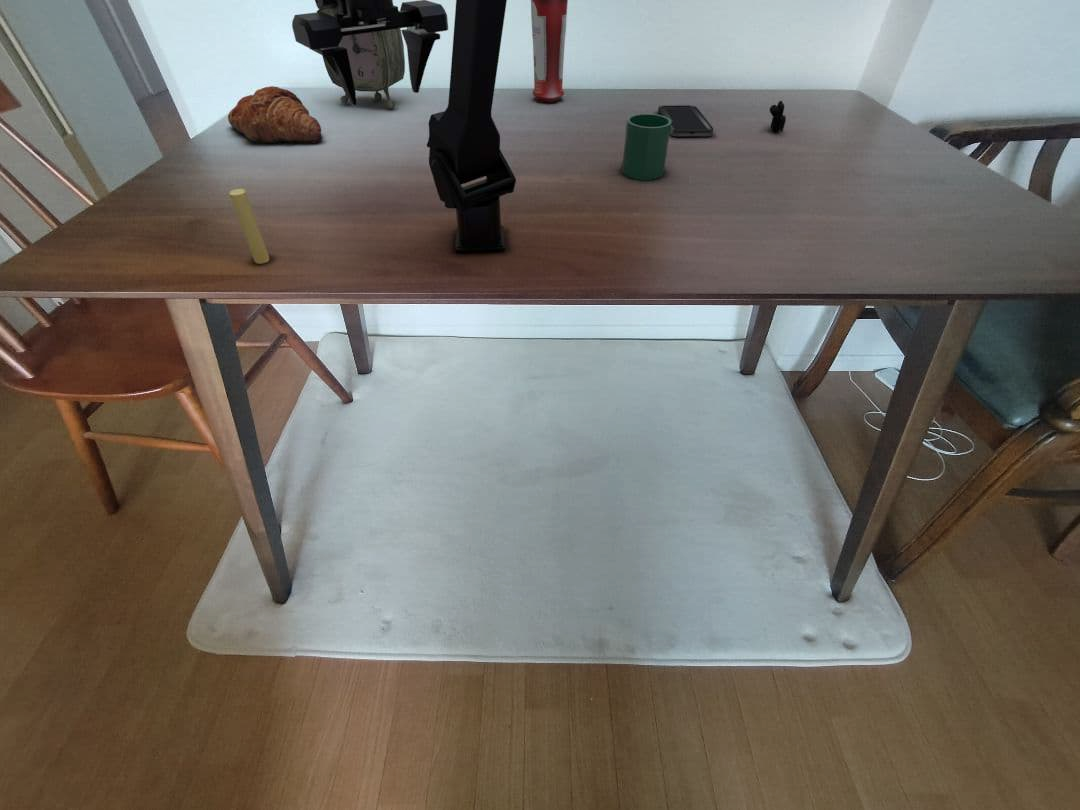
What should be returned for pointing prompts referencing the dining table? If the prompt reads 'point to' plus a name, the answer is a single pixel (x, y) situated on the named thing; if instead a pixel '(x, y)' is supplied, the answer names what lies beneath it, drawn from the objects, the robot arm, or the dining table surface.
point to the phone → (686, 121)
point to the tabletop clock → (372, 61)
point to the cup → (646, 146)
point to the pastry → (274, 117)
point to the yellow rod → (249, 225)
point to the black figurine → (777, 117)
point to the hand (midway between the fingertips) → (385, 98)
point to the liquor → (548, 48)
